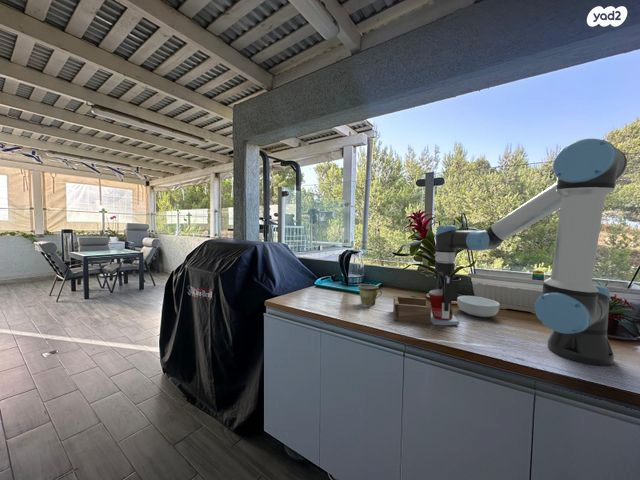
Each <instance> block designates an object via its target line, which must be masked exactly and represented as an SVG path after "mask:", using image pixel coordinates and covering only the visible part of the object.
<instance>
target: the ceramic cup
mask: <svg viewBox="0 0 640 480" xmlns="http://www.w3.org/2000/svg"><path fill="white" fill-rule="evenodd" d="M358 291H359V296H360V304H361V306H362V307H364V308H371V307H373V306H375V305H376V300H377V299H378V298H379V297H381V295H382V294H383V292H382V290H381V289H379V286H378V285H375V284H371V283H369V284H368V283H360V284H359V285H358ZM378 292H379V293H380V294H379V295H378Z"/></svg>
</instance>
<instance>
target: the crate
mask: <svg viewBox="0 0 640 480" xmlns="http://www.w3.org/2000/svg"><path fill="white" fill-rule="evenodd" d="M392 309H393V310H392V311H393V318H394V322H396V323H406V324H414V325H415V324H417V325H427V326H428V325H429V326H434V324H433V323H431V313H432V309H431V305H430V306H428V305H427V299H426V298H425V297H412V296H400V295H398V296H397V295H393V308H392Z"/></svg>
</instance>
